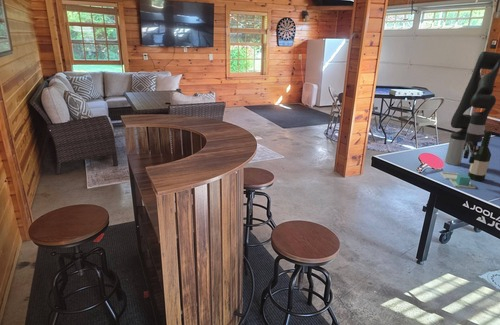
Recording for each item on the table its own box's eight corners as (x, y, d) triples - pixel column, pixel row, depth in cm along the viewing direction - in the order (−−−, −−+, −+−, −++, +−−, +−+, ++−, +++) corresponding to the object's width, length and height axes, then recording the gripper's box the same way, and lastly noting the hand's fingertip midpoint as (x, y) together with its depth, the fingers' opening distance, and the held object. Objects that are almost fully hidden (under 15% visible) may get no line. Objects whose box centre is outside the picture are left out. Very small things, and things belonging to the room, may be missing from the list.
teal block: (455, 182, 189) (457, 174, 187) (465, 183, 187) (467, 175, 186) (458, 185, 184) (460, 177, 182) (468, 186, 183) (470, 178, 181)
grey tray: (440, 173, 202) (440, 171, 202) (458, 175, 200) (458, 173, 199) (445, 179, 193) (445, 177, 193) (463, 181, 191) (464, 179, 190)
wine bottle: (477, 176, 198) (490, 128, 188) (487, 182, 191) (501, 132, 180) (464, 176, 198) (476, 128, 188) (473, 182, 190) (486, 132, 180)
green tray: (449, 180, 192) (449, 178, 191) (468, 182, 189) (469, 180, 189) (454, 187, 182) (455, 185, 182) (474, 189, 180) (475, 187, 180)
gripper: (462, 128, 183) (456, 156, 188) (472, 134, 170) (465, 164, 175) (478, 129, 181) (471, 157, 187) (488, 135, 168) (481, 165, 173)
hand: (468, 160), depth 181 cm, fingers open, 8 cm apart
